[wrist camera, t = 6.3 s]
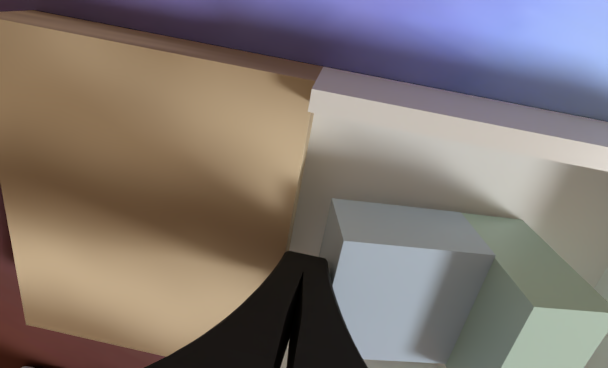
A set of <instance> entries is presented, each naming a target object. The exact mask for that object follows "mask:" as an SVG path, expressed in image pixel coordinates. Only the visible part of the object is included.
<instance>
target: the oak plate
mask: <svg viewBox="0 0 608 368" xmlns="http://www.w3.org/2000/svg"><path fill="white" fill-rule="evenodd" d="M322 68H323V66H318V65H313V64H308V63H303V62H297V61H292V60H287V59H282V58H277V57H272V56H267V55H261V54H256V53H251V52H246V51H241V50H236V49H231V48H225V47H220V46H215V45H210V44H205V43H200V42H195V41H189V40H184V39H179V38H174V37H169V36H164V35H159V34H153V33H148V32H143V31H138V30H133V29H128V28H122V27H117V26H112V25H107V24H102V23H97V22H92V21H86V20H81V19H76V18H71V17H66V16H61V15H56V14H50V13H45V12H40V11H35V10H27V11H7V12H0V183H1V189H2V194H3V200H4V205H5V211H6V216H7V222H8V227H9V233H10V238H11V244H12V249H13V255H14V260H15V266H16V271H17V277H18V282H19V288H20V293H21V299H22V304H23V310H24V315H25V321H26V325H30V326H35V327H39V328H43V329H48V330H52V331H56V332H61V333H65V334H70V335H74V336H78V337H83V338H87V339H91V340H96V341H100V342H105V343H109V344H113V345H118V346H122V347H126V348H131V349H135V350H139V351H144V352H148V353H153V354H157V355H161V356H166V357H167V356H169V355H170V354H172V353H174V352H175V351H177V350H179V349H181V348H182V347H184V346H186V345H187V344H189V343H191V342H193V341H194V340H196V339H197V338H199V337H200V336H202V335H203V334H205V333H206V332H207V331H209V330H210V329H212V328H213V327H214V326H216V325H217V324H218V323H220V322H221V321H222V320H224V319H225V318H226V317H227V316H228V315H230V314H231V313H232V312H233V311H234V310H236V309H237V308H238V307H239V306H240V305H241V304H242V303H243V302H244V301H245V300H246V299H247V298H248V297H249V296H250V295H251V294H252V293H253V292H254V291H255V290H256V289H257V288H258V287H259V286H260V285H261V284H262V283H263V282H264V280H265V279H266V278H267V277H268V276H269V275H270V273H271V272H272V271H273V270H274V268H275V267H276V266H277V264H278V263H279V261H280V260H281V258H282V257H283V255H284V253H285V252H287V251H289V248H290V243H291V237H292V232H293V226H294V221H295V215H296V210H297V204H298V199H299V193H300V188H301V182H302V177H303V171H304V166H305V160H306V155H307V149H308V144H309V139H310V133H311V128H312V122H313V117H314V113H311V112H308V107H309V102H310V96H311V90H312V87H313V85H314V84H315V82H316V80H317V78H318V76H319V74H320V72H321V70H322Z"/></svg>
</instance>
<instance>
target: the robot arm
mask: <svg viewBox="0 0 608 368" xmlns="http://www.w3.org/2000/svg"><path fill="white" fill-rule="evenodd" d="M288 342H289V348H288V357H287V367H286V368H368V367H367V365H366V363H365V362H364V360H363V358H362V356H361V355H360V353H359V351H358V349H357V347H356V345H355V343H354V341H353V339H352V337H351V335H350V333H349V331H348V328H347V326H346V324H345V321H344V319H343V316H342V314H341V311H340V308H339V305H338V302H337V299H336V297H335V293H334V290H333V286H332V283H331V279H330V274H329V268H328V261H327V260H326V259H325V258H321V257H317V256H312V255H307V254H303V253H298V252H293V251H287V252H285V253H284V255H283V257H282V258H281V260H280V261H279V263H278V264H277V266H276V267H275V268H274V270H273V271H272V272H271V273H270V275H269V276H268V277H267V278H266V279H265V280H264V282H263V283H262V284H261V285H260V286H259V287H258V288H257V289H256V290H255V291H254V292H253V293H252V294H251V295H250V296H249V297H248V298H247V299H246V300H245V301H244V302H243V303H242V304H241V305H240V306H239V307H238V308H237V309H236V310H234V311H233V312H232V313H231V314H230V315H228V316H227V317H226V318H225V319H224V320H222V321H221V322H220V323H218V324H217V325H216V326H214V327H213V328H212V329H210V330H209V331H207V332H206V333H205V334H203V335H202V336H200V337H199V338H197V339H196V340H194V341H193V342H191V343H189V344H187V345H186V346H184V347H182V348H181V349H179V350H177V351H175V352H174V353H172V354H170V355H169V356H167V357H165V358H163V359H161V360H159V361H157V362H155V363H153V364H151V365H149V366H147V367H144V368H280V367H281V364H282V361H283V358H284V355H285V351H286V348H287V345H288ZM21 368H33V367H29V366H24V367H21Z"/></svg>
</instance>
